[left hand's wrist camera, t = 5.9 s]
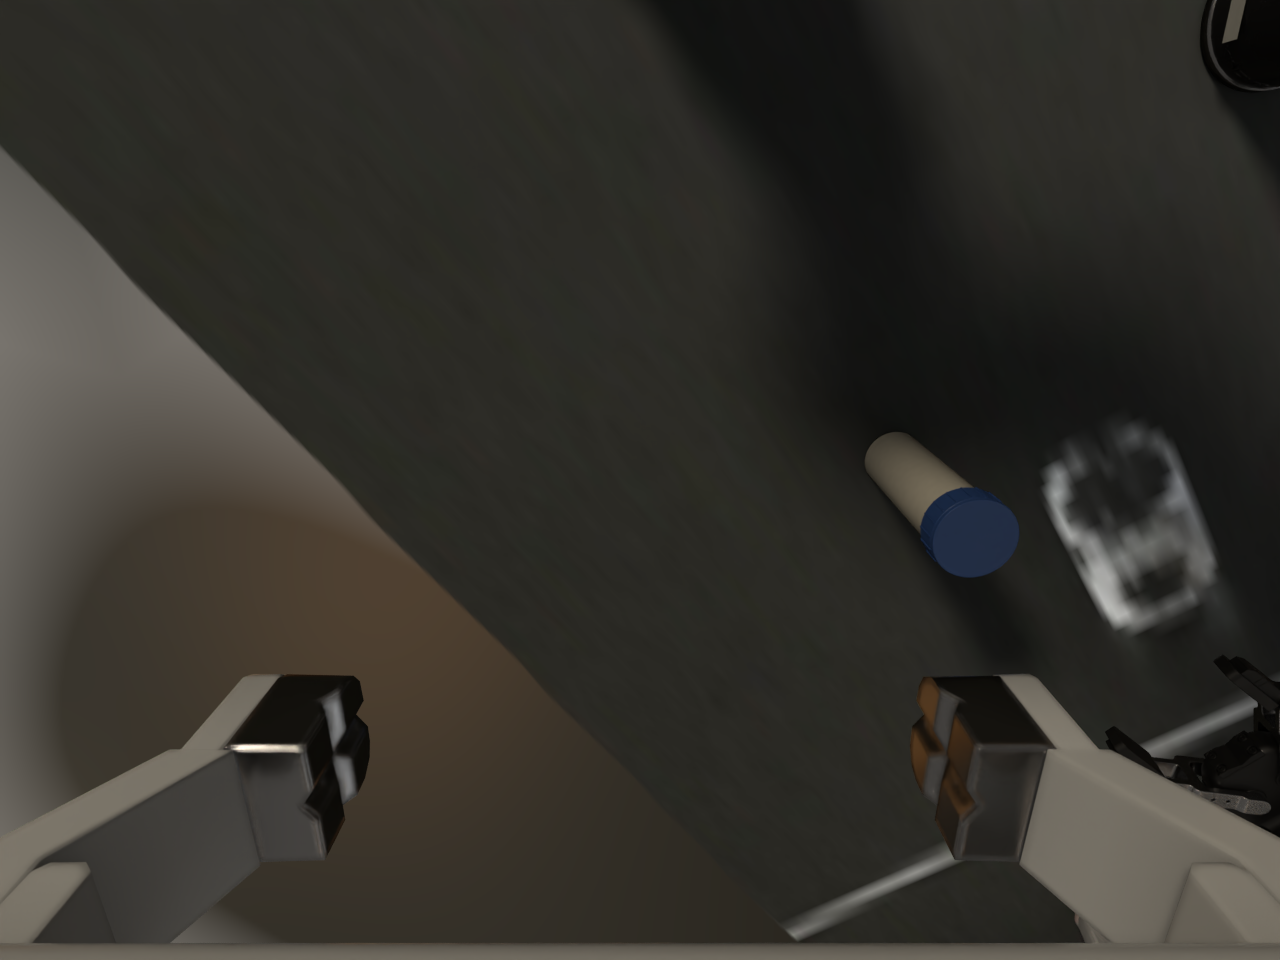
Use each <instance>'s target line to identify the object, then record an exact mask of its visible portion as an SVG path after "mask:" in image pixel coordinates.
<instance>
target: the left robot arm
mask: <svg viewBox="0 0 1280 960" xmlns="http://www.w3.org/2000/svg"><path fill="white" fill-rule="evenodd" d="M363 701H364V700H363V695H362V690H361V685H360V681H359V680H358V679H357V678H356V677H354V676H339V675H292V674H287V675H282V674H252V675H249V676H246V677H244V678H242V679H241V681H240V682H239V683H238V684H237V685H236V686H235V688H234V689H233V690H232V691H231V692H230V693H229V694H228V696H227V697H226V698H225V699H224V700H223V701H222V703H221V704H220V705H219V706H218V707H217V708H216V710H215V711H214V712H213V713H212V714H211V715H210V716H209V718H208V719H207V720H206V721H205V722H204V723H203V725H202V726H201V727H200V728H199V729H198V730H197V731H196V733H195V734H194V735H193V736H192V737H191V738H190V740H189V741H188V742H187V743H186V744H185V745H184V747H183V748H182V749H181V750H168V751H166V752H164V753H162V754H160V755H158V756H156V757H154V758H152V759H151V760H149V761H147V762H145V763H143V764H141V765H139V766H137V767H135V768H133V769H131V770H129V771H127V772H125V773H124V774H122V775H120V776H118V777H116V778H114V779H112V780H110V781H108V782H106V783H104V784H102V785H100V786H98V787H97V788H95V789H93V790H91V791H89V792H87V793H85V794H83V795H81V796H79V797H77V798H75V799H73V800H72V801H70V802H68V803H66V804H64V805H62V806H60V807H58V808H56V809H54V810H52V811H50V812H48V813H46V814H45V815H43V816H41V817H39V818H37V819H35V820H33V821H31V822H29V823H27V824H25V825H23V826H21V827H19V828H17V829H16V830H14V831H12V832H10V833H8V834H6V835H4V836H2V837H0V960H1280V838H1279V837H1278V836H1276V835H1274V834H1272V833H1270V832H1268V831H1266V830H1264V829H1262V828H1260V827H1258V826H1256V825H1254V824H1253V823H1251V822H1249V821H1247V820H1245V819H1243V818H1241V817H1239V816H1237V815H1235V814H1233V813H1231V812H1229V811H1228V810H1226V809H1224V808H1222V807H1220V806H1218V805H1216V804H1214V803H1212V802H1210V801H1208V800H1206V799H1204V798H1203V797H1201V796H1199V795H1197V794H1195V793H1193V792H1191V791H1189V790H1187V789H1185V788H1183V787H1181V786H1179V785H1178V784H1176V783H1174V782H1172V781H1170V780H1168V779H1166V778H1164V777H1162V776H1160V775H1158V774H1156V773H1154V772H1153V771H1151V770H1149V769H1147V768H1145V767H1143V766H1141V765H1139V764H1137V763H1135V762H1133V761H1131V760H1129V759H1128V758H1126V757H1124V756H1122V755H1120V754H1118V753H1116V752H1114V751H1112V750H1099V749H1098V748H1097V747H1096V745H1095V744H1094V743H1093V742H1092V741H1091V740H1090V738H1089V737H1088V736H1087V735H1086V734H1085V733H1084V732H1083V730H1082V729H1081V728H1080V727H1079V726H1078V725H1077V723H1076V722H1075V721H1074V720H1073V719H1072V718H1071V716H1070V715H1069V714H1068V713H1067V712H1066V711H1065V710H1064V708H1063V707H1062V706H1061V705H1060V704H1059V703H1058V701H1057V700H1056V699H1055V698H1054V697H1053V696H1052V695H1051V693H1050V692H1049V691H1048V690H1047V689H1046V688H1045V686H1044V685H1043V684H1042V683H1041V682H1040V681H1039V679H1038V678H1036V677H1034V676H1032V675H1030V674H1006V675H993V676H934V677H923V679H922V681H921V683H920V685H919V689H918V694H917V700H916V701H917V703H918V704H919V706H920V708H921V710H922V712H923V713H924V715H923V716H922V717H921V718H920V719H919V720H918V721H917V722H916V723H915V724H914V725H913V726H912V733H911V741H910V752H911V763H912V768H913V772H914V775H915V779H916V781H917V784H918V786H919V788H920V790H921V792H922V794H923V795H924V796H925V797H927V798H928V799H930V800H931V801H932V802H934V803H935V804H936V805H937V810H936V816H935V821H936V823H937V825H938V827H939V829H940V831H941V833H942V835H943V837H944V839H945V841H946V843H947V845H948V847H949V849H950V851H951V853H952V855H953V857H954V859H955V860H975V861H1010V862H1020V866H1021V867H1023V868H1024V869H1025V870H1026V871H1027V872H1028V873H1030V874H1031V875H1032V876H1033V877H1034V878H1035V879H1037V880H1038V881H1039V882H1040V883H1041V884H1042V885H1043V886H1045V887H1046V888H1047V889H1048V890H1049V891H1050V892H1052V893H1053V894H1054V895H1055V896H1056V897H1057V898H1059V899H1060V900H1061V901H1062V902H1063V903H1064V904H1066V905H1067V906H1068V907H1069V908H1070V909H1071V910H1073V911H1074V912H1075V913H1076V914H1077V915H1078V916H1080V917H1081V918H1082V919H1083V920H1084V921H1085V922H1086V923H1088V924H1089V925H1090V926H1091V927H1092V928H1093V929H1095V930H1096V931H1097V932H1098V933H1099V934H1100V935H1102V936H1103V937H1104V938H1105V939H1106V940H1107V941H1109V942H1110V943H170V942H172V941H173V940H174V939H175V938H176V937H177V936H178V935H180V934H181V933H182V932H183V931H184V930H186V929H187V928H188V927H189V926H190V925H191V924H193V923H194V922H195V921H196V920H197V919H198V918H200V917H201V916H202V915H203V914H204V913H205V912H207V911H208V910H209V909H210V908H211V907H212V906H214V905H215V904H216V903H217V902H218V901H219V900H220V899H222V898H223V897H224V896H225V895H226V894H227V893H229V892H230V891H231V890H232V889H233V888H234V887H236V886H237V885H238V884H239V883H240V882H241V881H243V880H244V879H245V878H246V877H247V876H248V875H250V874H251V873H252V872H253V871H254V870H255V869H257V868H258V867H259V866H260V862H269V861H303V860H325V859H326V858H327V856H328V853H329V851H330V849H331V847H332V845H333V843H334V841H335V839H336V837H337V835H338V833H339V831H340V829H341V827H342V825H343V823H344V821H345V816H344V810H343V805H344V804H345V803H346V802H348V801H349V800H350V799H352V798H353V797H355V796H356V795H357V794H358V792H359V790H360V788H361V786H362V783H363V781H364V779H365V776H366V771H367V766H368V762H369V757H370V739H369V732H368V726H367V725H366V724H365V723H364V722H363V721H362V720H361V719H360V718H359V717H358V716H357V715H356V713H357V712H358V710H359V708H360V706H361V704H362V702H363Z"/></svg>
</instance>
